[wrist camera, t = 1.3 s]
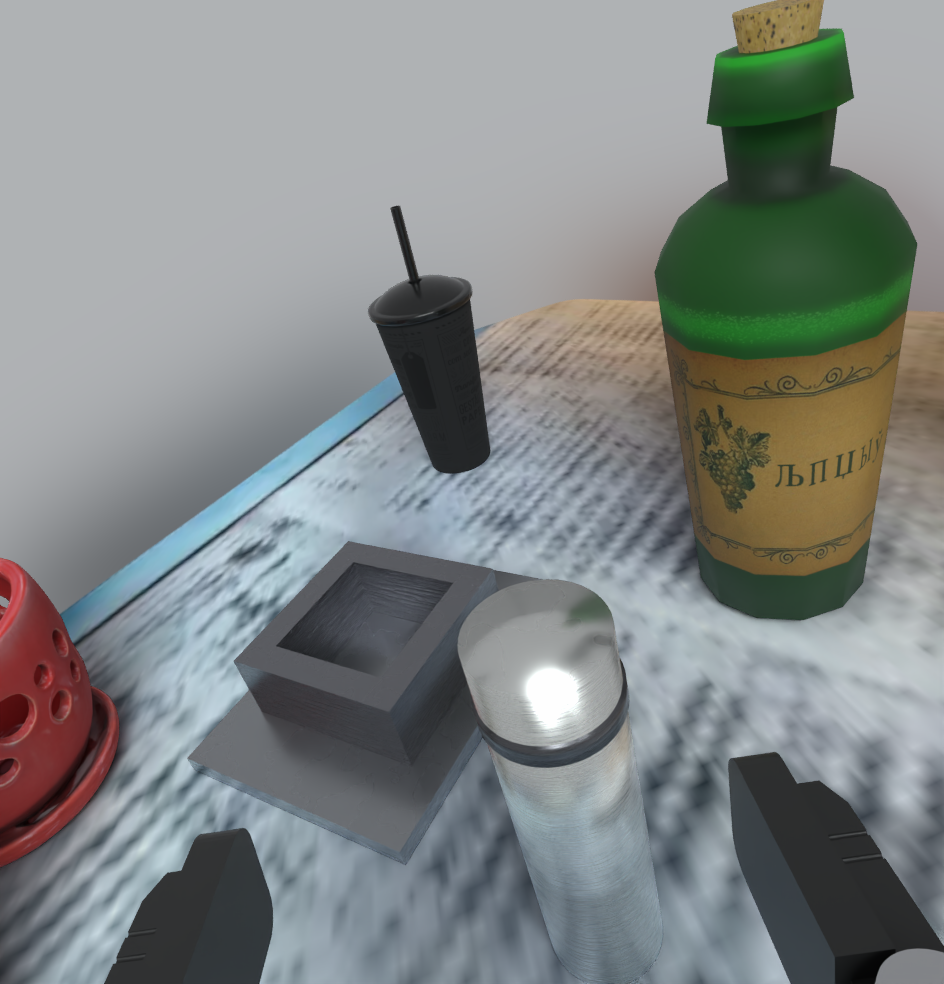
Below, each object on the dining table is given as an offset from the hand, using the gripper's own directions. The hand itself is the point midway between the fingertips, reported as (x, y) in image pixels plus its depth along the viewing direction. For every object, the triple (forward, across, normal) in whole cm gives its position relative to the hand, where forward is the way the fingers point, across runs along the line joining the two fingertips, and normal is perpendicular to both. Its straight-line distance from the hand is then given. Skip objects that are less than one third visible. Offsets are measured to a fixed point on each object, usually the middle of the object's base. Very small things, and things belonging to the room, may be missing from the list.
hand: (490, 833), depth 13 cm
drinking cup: (+50, +2, +9) cm, 50 cm away
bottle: (+29, -16, +12) cm, 36 cm away
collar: (+28, +7, +14) cm, 32 cm away
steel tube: (+12, -2, +17) cm, 21 cm away
